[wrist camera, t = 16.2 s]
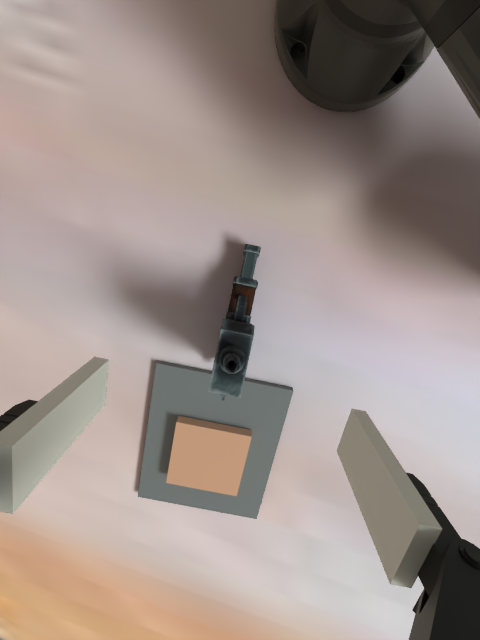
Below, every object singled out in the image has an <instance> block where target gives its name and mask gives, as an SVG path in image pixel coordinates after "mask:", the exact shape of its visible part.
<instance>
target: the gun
mask: <svg viewBox="0 0 480 640" xmlns="http://www.w3.org/2000/svg"><path fill="white" fill-rule="evenodd" d="M260 249H261V248H260V247H259V246H254V245H249V244H245V248H244V253H243V255H244V261H243V266H242V271H241V276H240V277H239V276H236V277H234V280H233V289H232V294H231V299H230V304H229V308H228V312H227V314H226V318H225V319H223V323H222V327H221V331H220V336H219V341H218V346H217V351H216V355H215V360H214V365H213V370H212V375H211V380H210V385H209V389H208V392H212V393H217V394H220V395H222V399H221V401H224V400H225V396H232V397H237V398H241V393H242V388H243V384H244V379H245V374H246V369H247V364H248V360H249V355H250V350H251V345H252V340H253V335H254V326H253V325H252V324H250V319H251V316H250V314H251V310H252V305H253V300H254V295H255V290H256V288H257V285H258V282H257V281H256V280H253V274H254V269H255V264H256V260H257V258H258V256H259V254H260Z"/></svg>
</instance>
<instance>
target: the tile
mask: <svg viewBox="0 0 480 640" xmlns="http://www.w3.org/2000/svg"><path fill="white" fill-rule="evenodd" d="M251 438H252V430H249V429H244V428H239V427H234V426H229V425H224V424H218V423H213V422H208V421H203V420H198V419H193V418H188V417H183V416H178V419H177V422H176V427H175V433H174V439H173V445H172V451H171V456H170V462H169V468H168V474H167V480H166V483H169V484H174V485H179V486H185V487H190V488H195V489H200V490H206V491H211V492H216V493H222V494H227V495H232V496H237V493H238V489H239V485H240V481H241V477H242V473H243V470H244V466H245V462H246V458H247V454H248V450H249V446H250V442H251Z"/></svg>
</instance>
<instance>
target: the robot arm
mask: <svg viewBox="0 0 480 640" xmlns="http://www.w3.org/2000/svg"><path fill="white" fill-rule="evenodd" d="M275 39H276V46H277V50H278V54H279V58H280V60H281V63H282V66H283V68H284V70H285V72H286V74H287V76H288V78H289V79H290V81H291V82H292V84H293V85H294V86H295V87H296V89H297V90H298V91H299V92H300V93H301V94H302V95H303V96H305V97H306V98H307V99H308V100H310V101H311V102H313V103H315V104H317V105H319V106H321V107H323V108H326V109H330V110H334V111H342V112H350V111H358V110H363V109H366V108H369V107H372V106H374V105H377V104H379V103H380V102H382V101H384V100H386V99H387V98H389V97H390V96H391V95H393V94H394V93H395V92H396V91H398V90H399V89H400V88H401V87H402V86H403V85H404V84H405V83H406V82H407V81H408V80H409V79H410V78H411V77H412V76H413V75H414V74H415V73H416V72H417V71H418V69H419V68H420V67H421V66H422V64H423V63H424V62H425V60H426V59H427V57H428V56H429V54H430V53H431V51H432V49H433V48H434V46H435V47H436V49H437V48H438V49H437V51H438V53H439V55H440V56H441V58H442V59H443V61H444V62H445V64H446V65H447V67H448V69H449V70H450V72H451V73H452V75H453V77H454V78H455V80H456V81H457V83H458V85H459V86H460V88H461V90H462V91H463V93H464V94H465V96H466V98H467V99H468V101H469V102H470V104H471V106H472V107H473V109H474V110H475V112H476V114H477V115H478V117H479V119H480V0H277V1H276V10H275ZM108 366H109V360H108V359H103V358H98V357H94V358H92V359H91V360H90V361H89V362H87V363H86V364H85V365H84V366H82V367H81V368H80V369H79V370H77V371H76V372H75V373H73V374H72V375H71V376H70V377H68V378H67V379H66V380H65V381H63V382H62V383H61V384H60V385H58V386H57V387H56V388H55V389H53V390H52V391H51V392H50V393H48V394H47V395H46V396H44V397H43V398H42V399H41V400H39V401H33V400H27V401H25V402H22V403H20V404H17V405H15V406H13V407H12V408H11V409H9V410H8V411H7V412H5V413H4V415H1V416H0V512H5V513H11V514H13V513H14V512H15V511H16V510H17V508H18V507H19V506H20V505H21V504H22V503H23V501H24V500H25V499H26V498H27V497H28V495H29V494H30V493H31V492H32V491H33V490H34V488H35V487H36V486H37V485H38V484H39V482H40V481H41V480H42V479H43V478H44V477H45V475H46V474H47V473H48V472H49V471H50V469H51V468H52V467H53V466H54V465H55V464H56V462H57V461H58V460H59V459H60V458H61V456H62V455H63V454H64V453H65V452H66V451H67V449H68V448H69V447H70V446H71V445H72V443H73V442H74V441H75V440H76V439H77V438H78V436H79V435H80V434H81V433H82V432H83V430H84V429H85V428H86V427H87V426H88V425H89V423H90V422H91V421H92V420H93V419H94V417H95V416H96V415H97V414H98V413H99V412H100V410H101V409H102V408H103V407H104V406H105V400H106V388H107V377H108ZM337 452H338V455H339V457H340V460H341V462H342V465H343V467H344V470H345V472H346V475H347V477H348V480H349V482H350V485H351V487H352V490H353V492H354V495H355V497H356V500H357V502H358V505H359V507H360V510H361V512H362V515H363V517H364V520H365V522H366V525H367V527H368V530H369V532H370V535H371V537H372V540H373V542H374V545H375V547H376V550H377V552H378V555H379V557H380V560H381V562H382V565H383V567H384V570H385V572H386V575H387V577H388V580H389V582H390V584H393V585H398V586H403V587H409V588H412V586H413V584H414V582H415V580H416V578H417V577H418V576H419V578H420V580H421V582H422V584H423V586H424V590H423V592H422V593H421V595H420V597H419V599H418V601H417V603H416V605H415V606H414V608H413V611H414V612H415V613H416V614H415V618H414V622H413V626H412V630H411V633H410V637H409V640H480V549H479V548H478V547H476V546H475V545H474V544H472V543H470V542H468V541H466V540H464V539H461V538H460V536H459V535H458V533H457V532H456V530H455V529H454V527H453V526H452V525H451V523H450V522H449V520H448V519H447V517H446V516H445V514H444V513H443V512H442V510H441V509H440V507H438V504H437V503H436V501H435V500H434V499H433V498H432V497H431V494H430V493H429V491H428V490H427V488H426V487H425V486H424V484H423V483H422V482H421V481H419V480H418V479H417V478H416V477H415V476H414V475H413V474H410V473H406V472H405V471H404V469H403V468H402V466H401V465H400V463H399V462H398V460H397V459H396V457H395V456H394V454H393V452H392V451H391V449H390V448H389V446H388V445H387V443H386V442H385V440H384V439H383V437H382V436H381V434H380V433H379V431H378V429H377V428H376V426H375V425H374V423H373V422H372V420H371V419H370V417H369V416H368V414H367V413H366V411H361V410H356V409H352V410H351V412H350V415H349V418H348V421H347V424H346V426H345V429H344V432H343V435H342V438H341V440H340V443H339V446H338V449H337Z"/></svg>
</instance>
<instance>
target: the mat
mask: <svg viewBox="0 0 480 640" xmlns="http://www.w3.org/2000/svg"><path fill="white" fill-rule="evenodd" d="M211 375H212V371H207V370H202V369H197V368H192V367H187V366H182V365H177V364H173V363H168V362H163V361H157V363H156V367H155V375H154V382H153V389H152V396H151V404H150V411H149V418H148V425H147V433H146V440H145V447H144V455H143V462H142V469H141V476H140V484H139V491H138V497H142V498H148V499H153V500H158V501H164V502H169V503H174V504H180V505H185V506H190V507H196V508H201V509H206V510H212V511H217V512H222V513H227V514H233V515H238V516H243V517H249V518H254V519H257V515H258V512H259V508H260V505H261V501H262V498H263V494H264V491H265V487H266V484H267V480H268V477H269V473H270V470H271V466H272V463H273V459H274V456H275V453H276V449H277V446H278V442H279V439H280V435H281V432H282V428H283V425H284V421H285V418H286V414H287V411H288V407H289V404H290V400H291V397H292V393H293V388H292V387H287V386H282V385H277V384H272V383H267V382H262V381H257V380H252V379H247V378H245V379H244V384H243V388H242V393H241V398H237V397H232V396H225V400H224V401H221V399H222V395H220V394H217V393H212V392H208V389H209V385H210V380H211ZM178 416H183V417H188V418H193V419H198V420H203V421H208V422H213V423H218V424H224V425H229V426H234V427H239V428H244V429H249V430H252V438H251V442H250V446H249V450H248V454H247V458H246V462H245V466H244V470H243V473H242V477H241V481H240V485H239V489H238V493H237V496H232V495H227V494H222V493H216V492H211V491H206V490H200V489H195V488H190V487H185V486H179V485H174V484H169V483H166V480H167V474H168V468H169V462H170V456H171V451H172V445H173V439H174V433H175V427H176V422H177V419H178Z"/></svg>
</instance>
